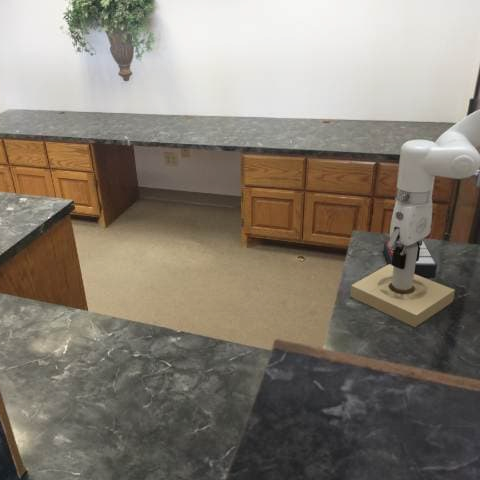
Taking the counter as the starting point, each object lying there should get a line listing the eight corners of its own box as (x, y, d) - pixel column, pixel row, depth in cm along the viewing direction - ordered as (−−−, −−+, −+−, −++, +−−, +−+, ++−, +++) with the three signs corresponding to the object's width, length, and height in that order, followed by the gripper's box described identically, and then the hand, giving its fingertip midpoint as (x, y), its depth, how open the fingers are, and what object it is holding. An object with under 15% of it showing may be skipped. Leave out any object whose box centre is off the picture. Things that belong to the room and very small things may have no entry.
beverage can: (388, 287, 128) (392, 245, 123) (396, 279, 131) (401, 237, 126) (407, 293, 125) (413, 250, 120) (415, 284, 128) (421, 242, 123)
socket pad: (452, 301, 127) (455, 289, 125) (414, 327, 119) (416, 315, 118) (388, 275, 140) (389, 264, 139) (350, 296, 133) (351, 285, 132)
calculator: (424, 239, 148) (437, 262, 135) (423, 253, 150) (435, 277, 137) (384, 239, 151) (393, 261, 138) (383, 252, 153) (391, 276, 140)
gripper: (406, 209, 110) (397, 281, 118) (450, 188, 118) (439, 256, 126) (376, 200, 116) (369, 269, 124) (420, 180, 124) (411, 246, 132)
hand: (405, 262), depth 125 cm, fingers closed on beverage can, 4 cm apart
